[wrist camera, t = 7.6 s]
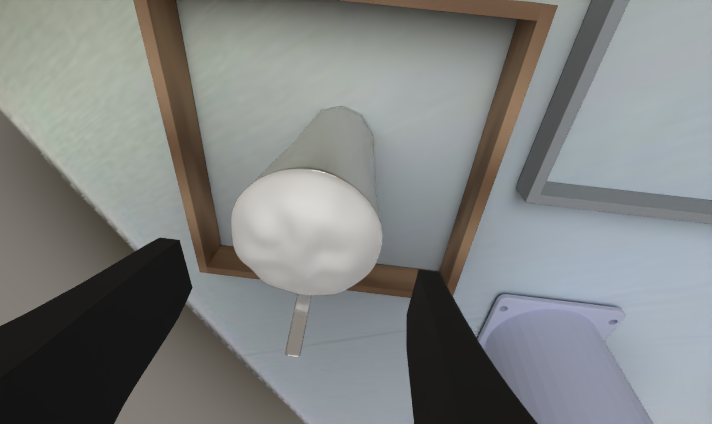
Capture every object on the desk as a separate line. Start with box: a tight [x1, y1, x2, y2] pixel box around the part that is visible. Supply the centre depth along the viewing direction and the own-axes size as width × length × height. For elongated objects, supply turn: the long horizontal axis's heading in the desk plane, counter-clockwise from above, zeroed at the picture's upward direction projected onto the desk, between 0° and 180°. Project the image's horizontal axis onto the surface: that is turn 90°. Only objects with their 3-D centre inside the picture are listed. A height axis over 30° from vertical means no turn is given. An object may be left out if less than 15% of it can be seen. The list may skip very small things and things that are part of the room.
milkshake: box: [231, 106, 383, 357], centre depth 13 cm, size 4×5×10 cm
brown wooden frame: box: [133, 0, 558, 298], centre depth 17 cm, size 15×15×2 cm
